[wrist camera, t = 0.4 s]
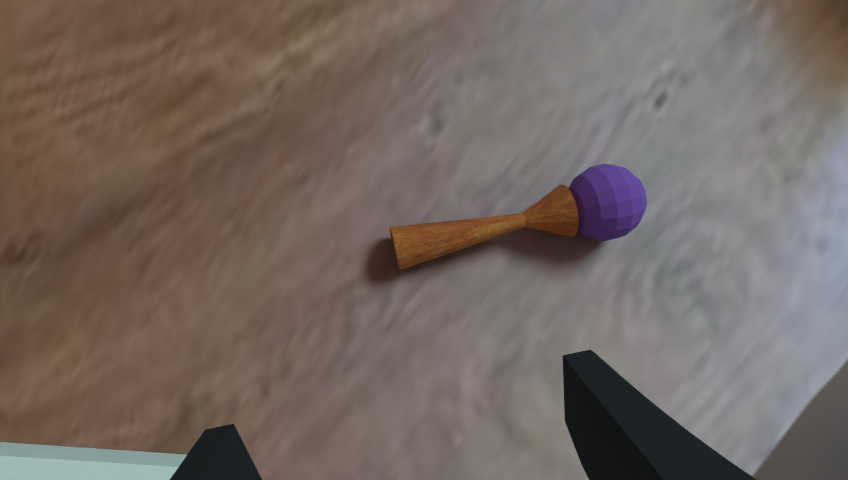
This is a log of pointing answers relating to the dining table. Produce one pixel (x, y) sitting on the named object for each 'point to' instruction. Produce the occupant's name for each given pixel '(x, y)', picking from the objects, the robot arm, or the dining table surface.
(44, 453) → the sage board
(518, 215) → the kendama
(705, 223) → the dining table surface
